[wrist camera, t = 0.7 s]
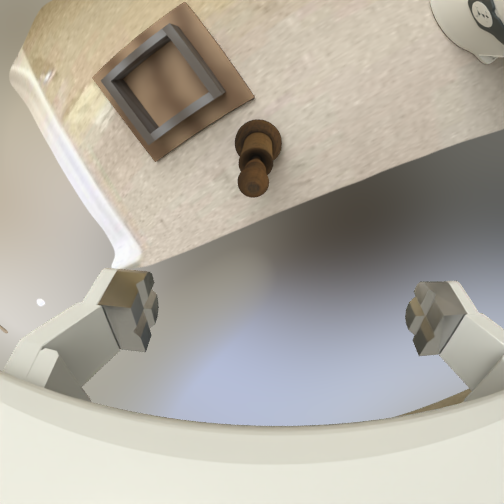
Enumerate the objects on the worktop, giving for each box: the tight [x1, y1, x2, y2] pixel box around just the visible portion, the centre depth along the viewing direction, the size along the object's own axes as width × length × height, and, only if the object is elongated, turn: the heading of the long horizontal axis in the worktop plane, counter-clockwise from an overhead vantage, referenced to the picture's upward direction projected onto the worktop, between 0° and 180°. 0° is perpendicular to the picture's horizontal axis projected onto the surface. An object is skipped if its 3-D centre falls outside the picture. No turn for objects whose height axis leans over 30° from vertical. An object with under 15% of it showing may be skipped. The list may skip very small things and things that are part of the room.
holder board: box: [92, 2, 254, 162], centre depth 35 cm, size 18×18×5 cm
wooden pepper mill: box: [235, 120, 282, 197], centre depth 35 cm, size 7×6×18 cm
